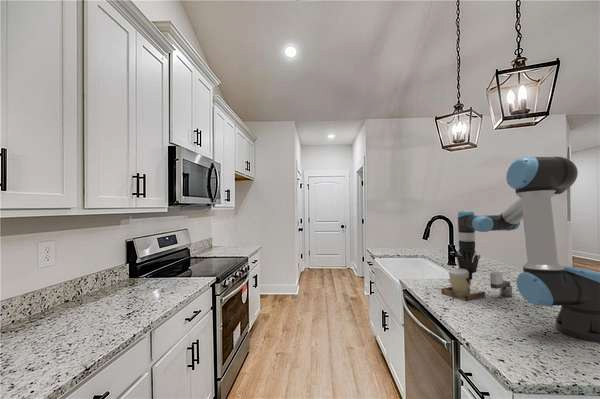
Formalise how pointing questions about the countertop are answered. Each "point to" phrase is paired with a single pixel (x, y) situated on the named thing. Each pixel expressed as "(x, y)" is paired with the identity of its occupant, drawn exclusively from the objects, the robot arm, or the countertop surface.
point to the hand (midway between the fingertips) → (468, 285)
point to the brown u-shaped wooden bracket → (469, 297)
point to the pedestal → (506, 291)
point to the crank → (498, 280)
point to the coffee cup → (460, 281)
